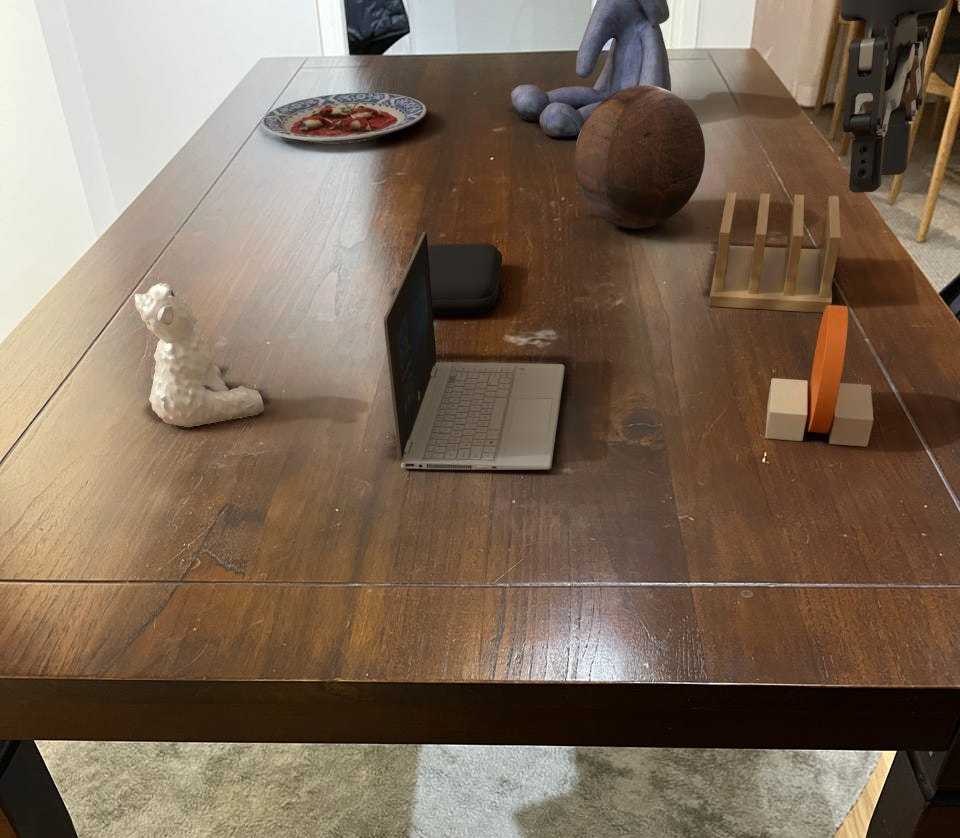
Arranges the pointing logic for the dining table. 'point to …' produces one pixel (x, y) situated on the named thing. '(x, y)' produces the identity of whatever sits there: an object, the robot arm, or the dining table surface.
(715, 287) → the rack
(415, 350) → the laptop
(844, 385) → the cubes
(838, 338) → the disc
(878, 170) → the robot arm
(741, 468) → the dining table surface
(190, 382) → the white creature statuette
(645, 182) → the wooden sphere
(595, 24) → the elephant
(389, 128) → the ceramic plate
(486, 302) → the carrying case
